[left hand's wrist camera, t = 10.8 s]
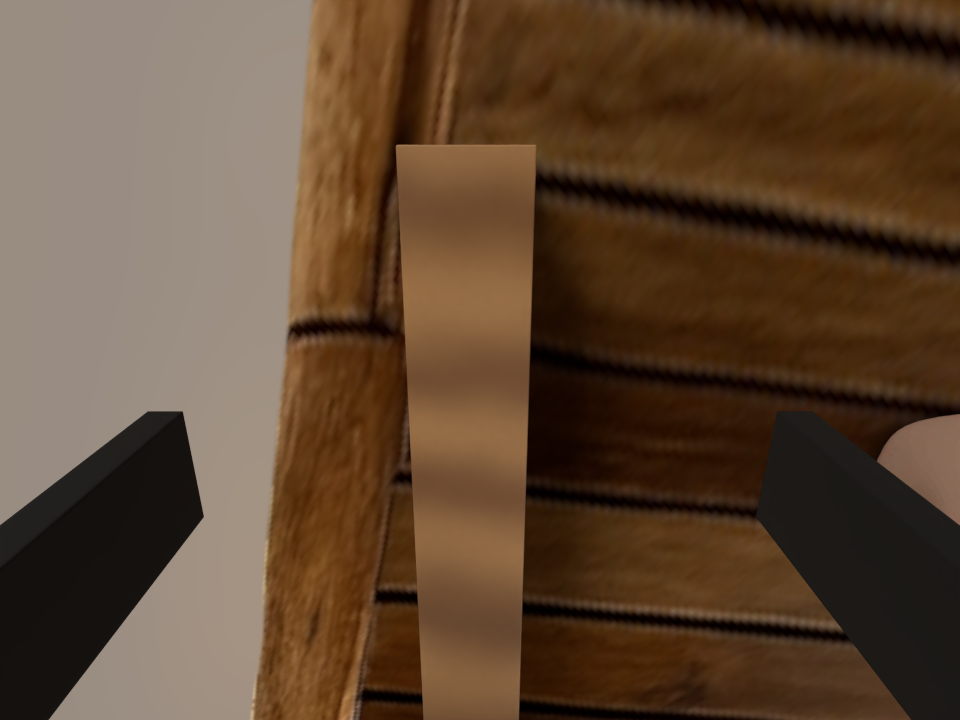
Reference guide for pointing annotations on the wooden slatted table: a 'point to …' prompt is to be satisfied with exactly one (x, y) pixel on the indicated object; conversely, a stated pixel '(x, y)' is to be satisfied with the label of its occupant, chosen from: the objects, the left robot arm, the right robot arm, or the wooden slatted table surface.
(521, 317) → the beam
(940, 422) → the anatomical model
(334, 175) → the wooden slatted table surface
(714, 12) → the wooden slatted table surface
